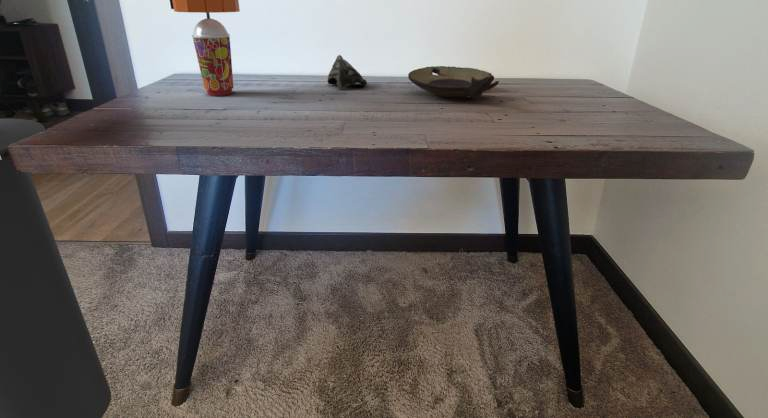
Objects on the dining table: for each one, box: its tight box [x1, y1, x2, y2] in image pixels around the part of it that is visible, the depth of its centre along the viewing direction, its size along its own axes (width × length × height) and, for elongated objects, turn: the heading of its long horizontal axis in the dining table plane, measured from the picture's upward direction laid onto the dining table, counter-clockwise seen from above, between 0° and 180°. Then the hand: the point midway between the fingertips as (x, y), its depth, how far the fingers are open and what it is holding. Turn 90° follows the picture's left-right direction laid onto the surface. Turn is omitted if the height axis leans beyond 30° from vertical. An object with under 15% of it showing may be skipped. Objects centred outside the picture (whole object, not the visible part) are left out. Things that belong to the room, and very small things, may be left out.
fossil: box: [326, 54, 368, 90], centre depth 118 cm, size 11×9×10 cm
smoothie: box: [191, 12, 234, 97], centre depth 105 cm, size 8×8×20 cm
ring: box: [172, 0, 241, 14], centre depth 100 cm, size 14×14×4 cm
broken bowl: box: [407, 65, 500, 99], centre depth 108 cm, size 22×30×8 cm
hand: (179, 8), depth 100 cm, fingers closed on ring, 1 cm apart
